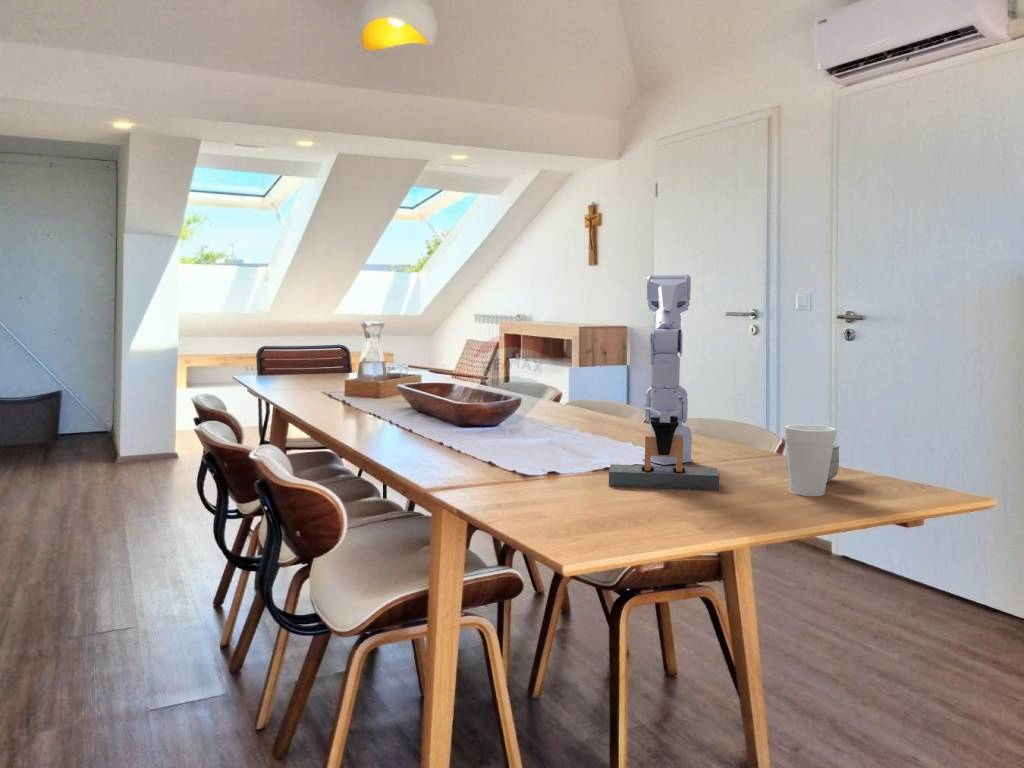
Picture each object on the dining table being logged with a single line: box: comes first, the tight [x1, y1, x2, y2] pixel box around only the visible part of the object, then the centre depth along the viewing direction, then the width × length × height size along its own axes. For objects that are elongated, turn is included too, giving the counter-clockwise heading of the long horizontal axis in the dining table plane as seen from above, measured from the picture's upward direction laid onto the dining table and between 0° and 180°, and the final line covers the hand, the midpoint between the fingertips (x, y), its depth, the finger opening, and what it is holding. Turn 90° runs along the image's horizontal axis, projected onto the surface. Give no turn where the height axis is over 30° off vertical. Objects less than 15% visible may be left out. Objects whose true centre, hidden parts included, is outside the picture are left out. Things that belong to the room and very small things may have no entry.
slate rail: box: [608, 463, 720, 492], centre depth 169 cm, size 22×8×3 cm, turn 80°
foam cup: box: [783, 423, 837, 497], centre depth 162 cm, size 10×9×13 cm
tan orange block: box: [644, 433, 684, 472], centre depth 169 cm, size 8×4×7 cm, turn 80°
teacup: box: [784, 443, 841, 483], centre depth 174 cm, size 14×11×8 cm
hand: (663, 452), depth 169 cm, fingers closed on tan orange block, 4 cm apart
